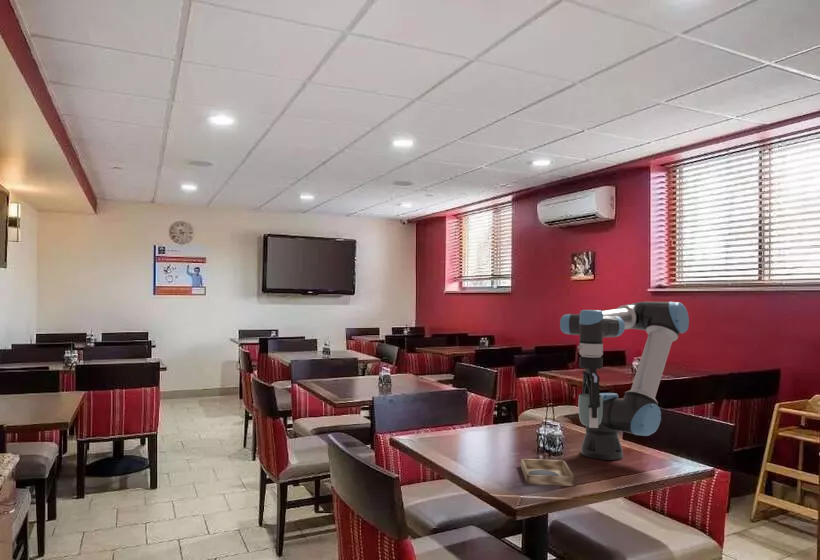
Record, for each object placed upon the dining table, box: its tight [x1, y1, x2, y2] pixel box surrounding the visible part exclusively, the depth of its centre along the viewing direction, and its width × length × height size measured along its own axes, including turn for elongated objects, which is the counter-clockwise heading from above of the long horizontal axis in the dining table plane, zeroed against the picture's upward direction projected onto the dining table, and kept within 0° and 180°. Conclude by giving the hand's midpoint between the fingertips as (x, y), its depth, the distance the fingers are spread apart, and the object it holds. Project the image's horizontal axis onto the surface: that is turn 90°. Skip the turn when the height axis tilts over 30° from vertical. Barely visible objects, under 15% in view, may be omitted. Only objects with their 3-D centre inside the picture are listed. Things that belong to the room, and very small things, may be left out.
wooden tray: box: [520, 458, 576, 487], centre depth 189 cm, size 15×19×3 cm
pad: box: [528, 470, 559, 476], centre depth 189 cm, size 10×10×1 cm
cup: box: [577, 393, 603, 427], centre depth 191 cm, size 8×8×10 cm
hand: (590, 424), depth 191 cm, fingers closed on cup, 8 cm apart
